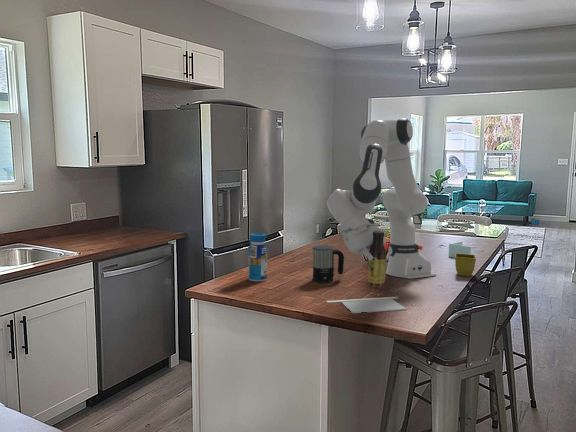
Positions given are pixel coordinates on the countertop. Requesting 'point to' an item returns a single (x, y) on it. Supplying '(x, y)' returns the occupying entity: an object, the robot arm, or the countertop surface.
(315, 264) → the milk frother
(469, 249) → the right angle wall
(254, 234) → the beverage bottle
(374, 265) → the sauce bottle
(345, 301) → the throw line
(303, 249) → the countertop surface
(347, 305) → the mat
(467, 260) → the flower pot
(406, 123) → the robot arm
